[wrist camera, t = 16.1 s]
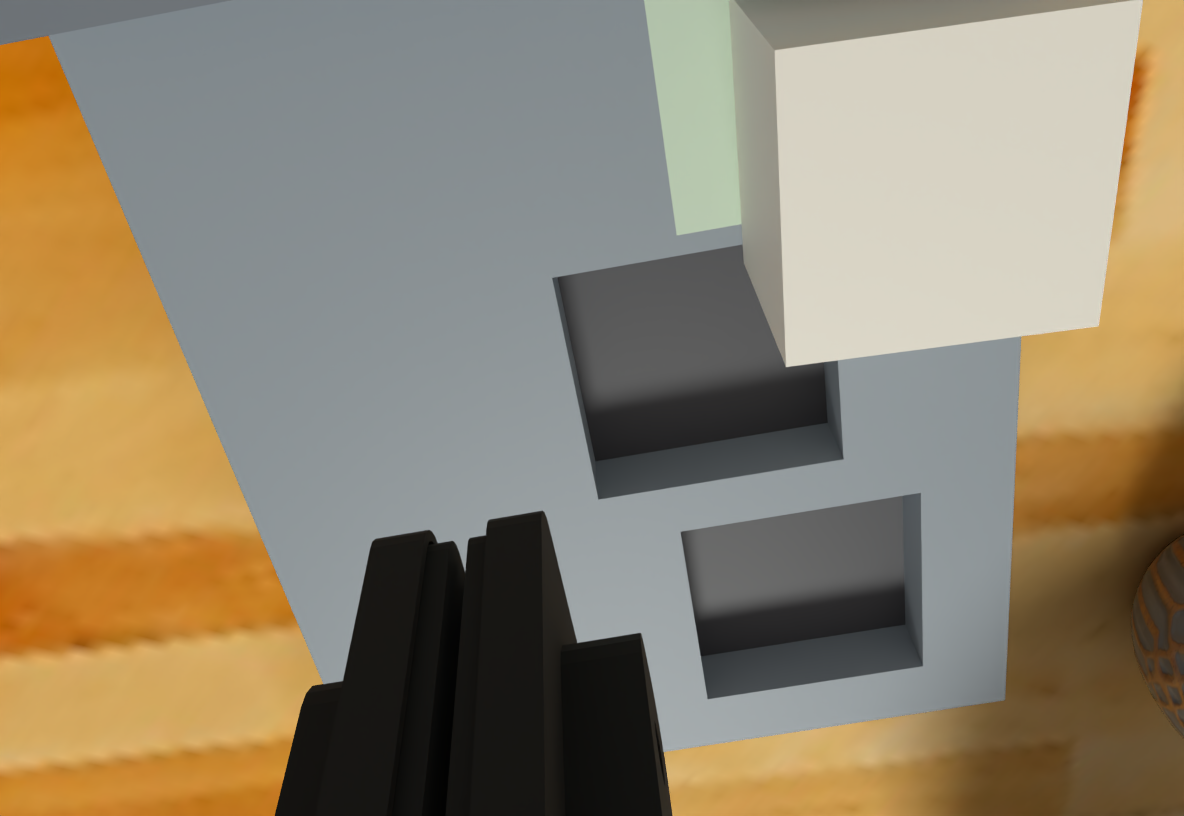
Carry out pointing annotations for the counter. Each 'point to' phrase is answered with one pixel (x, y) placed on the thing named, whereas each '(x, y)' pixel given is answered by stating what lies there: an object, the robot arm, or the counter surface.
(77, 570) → the counter surface
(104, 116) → the board
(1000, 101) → the cream block
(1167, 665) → the vase
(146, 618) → the counter surface
